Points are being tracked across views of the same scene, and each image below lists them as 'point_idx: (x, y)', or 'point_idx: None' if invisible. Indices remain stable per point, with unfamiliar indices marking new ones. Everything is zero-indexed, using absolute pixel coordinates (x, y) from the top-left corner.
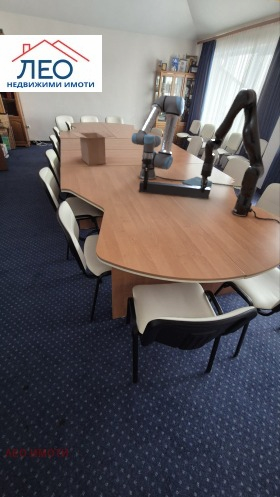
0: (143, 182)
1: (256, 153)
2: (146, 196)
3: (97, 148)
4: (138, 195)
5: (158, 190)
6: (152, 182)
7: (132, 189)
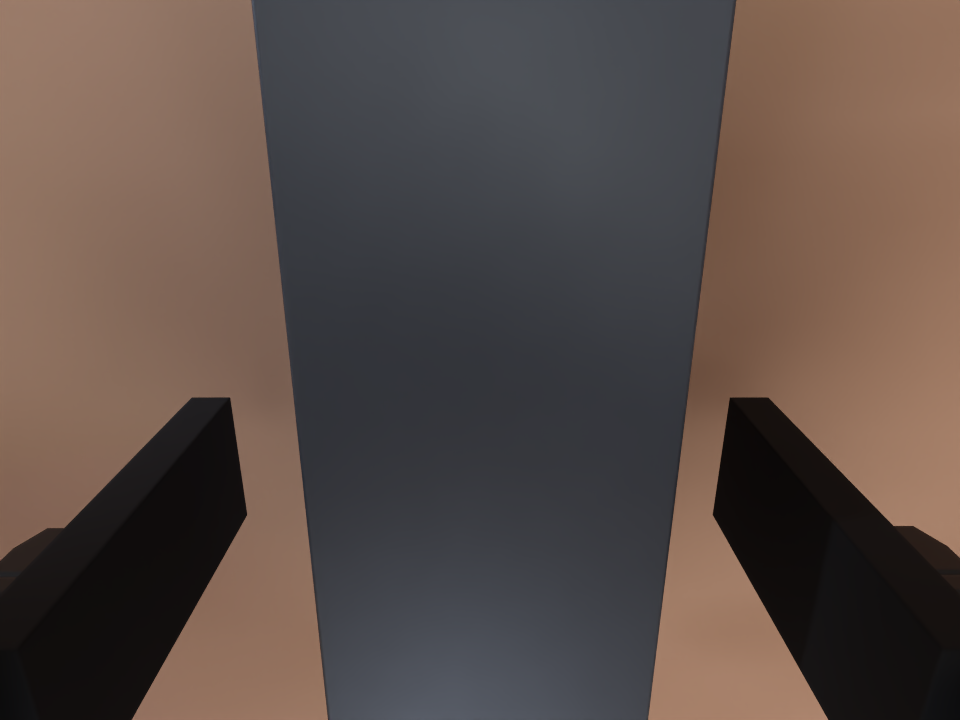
0: (576, 698)
1: None
2: (887, 316)
3: None
4: None
5: None
6: (438, 245)
7: None
